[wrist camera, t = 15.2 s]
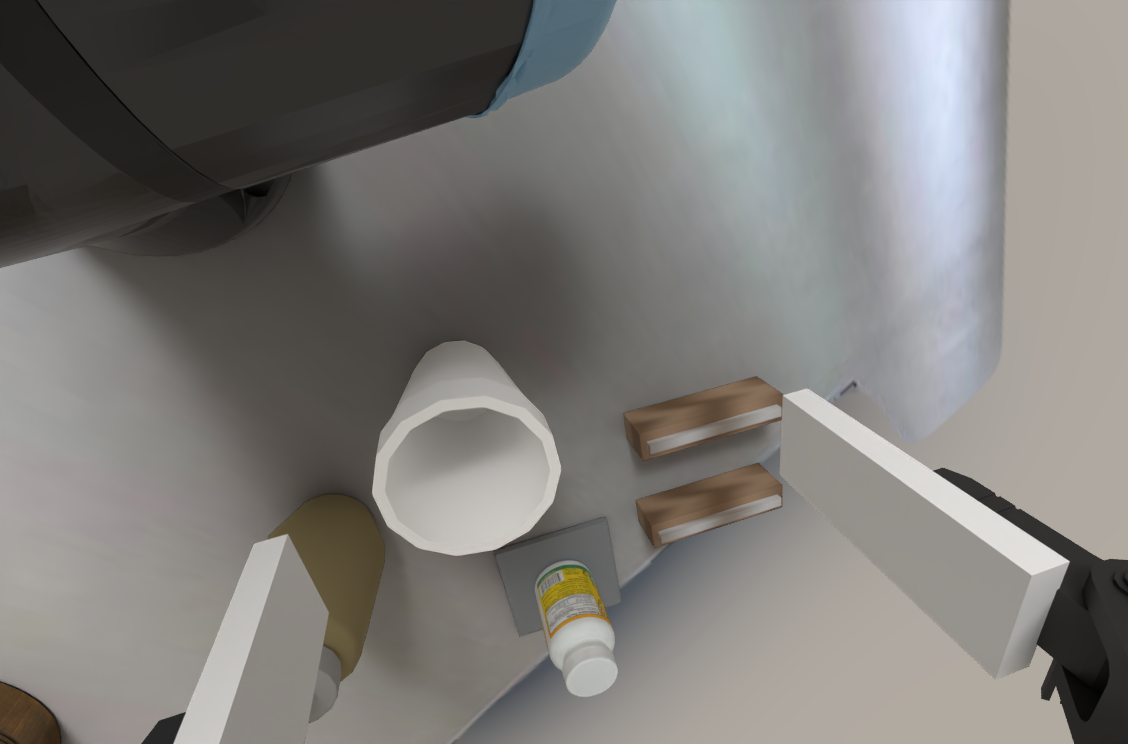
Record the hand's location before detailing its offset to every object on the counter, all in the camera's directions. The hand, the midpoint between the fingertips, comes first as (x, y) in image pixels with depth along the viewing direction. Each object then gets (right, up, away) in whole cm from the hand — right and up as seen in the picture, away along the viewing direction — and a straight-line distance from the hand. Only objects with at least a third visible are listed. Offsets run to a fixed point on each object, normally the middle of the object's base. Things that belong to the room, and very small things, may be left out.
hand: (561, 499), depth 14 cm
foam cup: (-8, +3, +25) cm, 26 cm away
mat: (0, -15, +34) cm, 37 cm away
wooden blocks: (+12, -4, +32) cm, 34 cm away
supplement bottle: (0, -15, +33) cm, 37 cm away
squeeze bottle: (-18, -8, +27) cm, 33 cm away
